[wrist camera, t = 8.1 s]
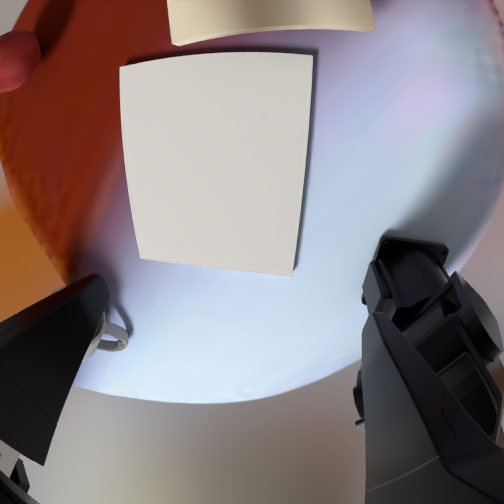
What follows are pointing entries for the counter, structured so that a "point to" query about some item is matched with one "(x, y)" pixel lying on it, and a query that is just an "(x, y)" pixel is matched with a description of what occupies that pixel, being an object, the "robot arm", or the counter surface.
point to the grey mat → (217, 157)
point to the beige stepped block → (263, 17)
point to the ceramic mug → (106, 345)
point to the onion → (17, 58)
